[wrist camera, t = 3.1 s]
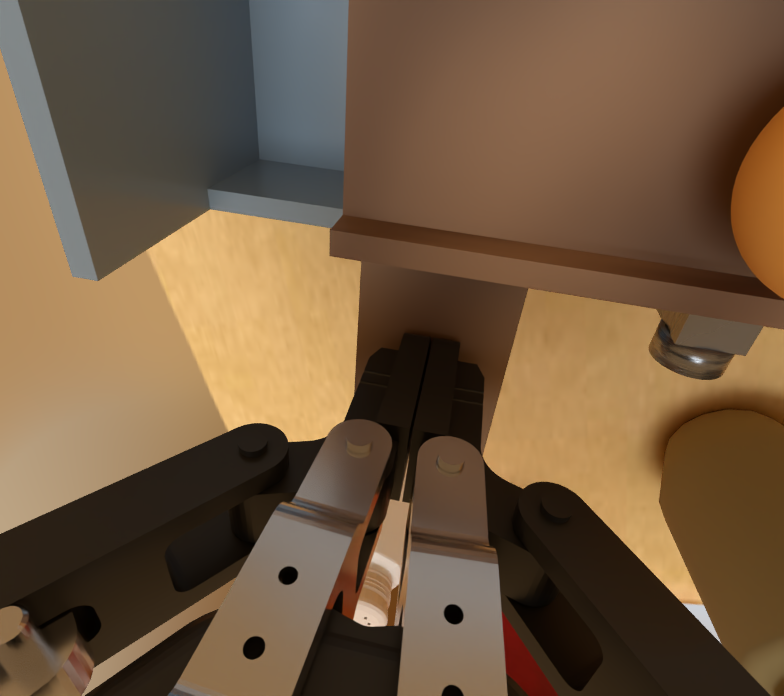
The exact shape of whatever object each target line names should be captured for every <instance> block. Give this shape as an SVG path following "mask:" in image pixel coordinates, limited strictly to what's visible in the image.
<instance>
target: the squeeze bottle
mask: <svg viewBox="0 0 784 696" xmlns="http://www.w3.org/2000/svg"><path fill="white" fill-rule="evenodd" d="M659 503H660V506H661V509H662V512H663V515H664V518H665V521H666V523H667V525H668V527H669V530H670V532H671V534H672V536H673V538H674V540H675V543H676V545H677V547H678V549H679V551H680V554H681V556H682V558H683V560H684V562H685V565H686V567H687V569H688V571H689V573H690V576H691V578H692V580H693V582H694V584H695V587H696V589H697V591H698V593H699V595H700V597H701V600H702V602H703V604H704V606H705V608H706V611H707V613H708V615H709V617H710V619H711V621H712V624H713V626H714V628H715V630H716V632H717V635H718V637H719V639H720V641H721V644H722V645H723V646H724V647H725V648H726V649H727V651H728V652H729V653H730V654H731V655H732V656H733V657H734V658H735V659H736V660H737V661H738V662H739V663H740V664H741V665H742V666H743V667H744V668H745V669H746V670H747V671H748V672H749V673H750V674H751V675H752V676H753V678H754V679H755V680H756V681H757V682H758V683H759V684H760V685H761V686H762V687H763V688H764V689H765V690H766V691H767V692H768V693H769V694H770V695H771V696H784V426H783V425H782V424H780V423H778V422H777V421H775V420H774V419H772V418H770V417H767V416H765V415H762V414H759V413H757V412H754V411H749V410H731V409H726V410H722V411H717V412H712V413H707V414H703V415H701V416H699V417H697V418H695V419H693V420H691V421H689V422H687V423H685V424H683V425H682V426H681V427H680V428H679V429H678V430H677V431H676V432H675V433H674V434H673V435H672V436H671V437H670V438H669V442H668V445H667V448H666V451H665V457H664V465H663V473H662V481H661V489H660V497H659Z"/></svg>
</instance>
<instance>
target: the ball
mask: <svg viewBox="0 0 784 696" xmlns="http://www.w3.org/2000/svg"><path fill="white" fill-rule="evenodd" d="M731 225H732V230H733V235H734V238H735V241H736V244H737V247H738V249H739V251H740V254H741V256H742V258H743V259H744V261H745V262H746V264H747V265H748V267H749V268H750V270H751V271H752V272H753V274H754V275H755V276H756V277H757V278H758V279H759V280H760V281H761V282H762V283H763V284H764V285H765V286H767V287H768V288H769V289H770V290H772V291H773V292H774V293H776V294H777V295H778V296H780V297H781V298H783V299H784V107H783V108H782V109H781V110H780V111H779V112H778V113H777V114H776V115H775V116H774V117H773V118H772V119H771V120H770V122H769V123H768V124H767V125H766V126H765V127H764V129H763V130H762V131H761V132H760V134H759V135H758V137H757V138H756V140H755V141H754V142H753V144H752V145H751V147H750V149H749V151H748V152H747V154H746V156H745V158H744V160H743V162H742V164H741V166H740V169H739V171H738V174H737V176H736V180H735V184H734V188H733V192H732V201H731Z"/></svg>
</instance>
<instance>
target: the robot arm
mask: <svg viewBox="0 0 784 696" xmlns="http://www.w3.org/2000/svg"><path fill="white" fill-rule="evenodd" d="M430 343H431V337H427V336H422V335H416V334H410V333H404V334H403V338H402V341H401V344H400V347H399V350H394V349H388V348H382V347H381V348H380V349H379V350H378V351H376V352H375V353H374V354H373V355H371V356H370V357H369V359H368V362H367V364H366V367H365V369H364V372H363V374H362V377H361V379H360V383H359V385H358V387H357V390H356V392H355V395H354V397H353V400H352V402H351V405H350V407H349V410H348V412H347V415H346V417H345V420H344V422H342V423H340V424H338V425H336V426H335V427H334V428H333V429H332V430H331V431H330V433H329V434H328V436H327V437H325V438H322V439H318V440H314V441H302V442H288V440H287V438H286V436H285V434H284V433H283V432H282V431H281V430H280V429H278V428H276V427H274V426H272V425H268V424H262V423H254V424H247V425H243V426H241V427H238V428H236V429H233V430H231V431H229V432H227V433H224V434H222V435H220V436H218V437H216V438H213V439H212V440H209V441H207V442H205V443H202V444H200V445H198V446H195V447H193V448H191V449H189V450H187V451H184V452H182V453H180V454H178V455H176V456H173V457H171V458H169V459H167V460H164V461H162V462H160V463H158V464H155V465H153V466H151V467H149V468H147V469H144V470H142V471H140V472H138V473H135V474H133V475H131V476H129V477H126V478H125V479H122V480H120V481H118V482H115V483H113V484H111V485H109V486H107V487H104V488H102V489H100V490H98V491H95V492H93V493H91V494H88V495H86V496H84V497H82V498H80V499H78V500H75V501H73V502H71V503H68V504H66V505H64V506H62V507H59V508H57V509H55V510H53V511H51V512H48V513H46V514H44V515H42V516H39V517H37V518H35V519H33V520H31V521H28V522H26V523H24V524H22V525H19V526H17V527H15V528H13V529H11V530H8V531H6V532H4V533H1V534H0V696H82V694H83V693H84V691H85V689H86V688H87V686H88V684H89V682H90V679H91V676H92V673H93V668H94V667H96V666H97V665H99V664H100V663H102V662H104V661H105V660H107V659H108V658H110V657H111V656H113V655H115V654H116V653H118V652H119V651H121V650H122V649H124V648H125V647H127V646H129V645H130V644H132V643H133V642H135V641H137V640H138V639H140V638H141V637H143V636H144V635H146V634H148V633H149V632H151V631H152V630H154V629H155V628H157V627H159V626H160V625H162V624H163V623H165V622H166V621H168V620H169V619H171V618H173V617H174V616H176V615H177V614H179V613H181V612H182V611H184V610H185V609H187V608H188V607H190V606H192V605H193V604H194V603H196V602H198V601H199V600H201V599H203V598H204V597H206V596H207V595H209V594H210V593H212V592H214V591H215V590H217V589H218V588H220V587H221V586H223V585H225V584H226V583H228V582H229V581H231V580H232V579H234V578H236V577H237V578H236V579H235V581H234V583H233V585H232V587H231V588H230V590H229V592H228V594H227V596H226V597H225V599H224V601H223V603H222V604H221V606H220V608H219V609H217V610H215V611H212V612H210V613H208V614H205V615H203V616H201V617H199V618H198V619H196V620H194V621H192V622H190V623H189V624H187V625H186V626H184V627H183V628H181V629H180V630H178V631H177V632H175V633H174V634H173V635H171V636H170V637H168V638H167V639H165V640H164V641H162V642H161V643H160V644H158V645H157V646H155V647H154V648H152V649H151V650H150V651H148V652H147V653H145V654H144V655H142V656H141V657H139V658H138V659H137V660H135V661H134V662H132V663H131V664H129V665H128V666H127V667H125V668H124V669H122V670H121V671H119V672H118V673H116V674H115V675H114V676H112V677H111V678H109V679H108V680H107V681H105V682H104V683H102V684H101V685H99V686H98V687H96V688H95V689H93V690H92V691H91V692H89V693H88V694H86V695H85V696H528V694H527V693H526V692H525V691H524V690H523V689H522V688H521V687H520V686H519V685H518V684H517V682H516V681H514V680H513V679H512V678H511V677H510V676H509V675H508V674H507V673H506V666H505V652H504V638H503V624H502V612H503V613H504V615H505V616H506V618H507V619H508V621H509V622H510V624H511V625H512V627H513V628H514V630H515V631H516V633H517V634H518V636H519V637H520V639H521V640H522V642H523V643H524V645H525V646H526V648H527V649H528V651H529V652H530V654H531V655H532V657H533V658H534V660H535V661H536V663H537V664H538V666H539V667H540V669H541V670H542V672H543V673H544V675H545V676H546V678H547V679H548V681H549V682H550V684H551V685H552V687H553V688H554V690H555V691H556V693H557V694H558V696H771V695H770V694H769V693H768V692H767V691H766V690H765V689H764V688H763V687H762V686H761V685H760V684H759V683H758V682H757V681H756V680H755V679H754V678H753V676H752V675H751V674H750V673H749V672H748V671H747V670H746V669H745V668H744V667H743V666H742V665H741V664H740V663H739V662H738V661H737V660H736V659H735V658H734V657H733V656H732V655H731V654H730V653H729V652H728V651H727V649H726V648H725V647H724V646H723V645H722V644H721V643H720V642H719V641H718V640H717V639H716V638H715V637H714V636H713V635H712V634H711V633H710V632H709V631H708V630H707V629H706V628H705V627H704V626H703V625H702V624H701V623H700V621H699V620H698V619H697V618H695V616H694V615H693V614H692V613H691V612H690V611H689V610H688V609H687V608H686V607H685V606H684V605H683V604H682V603H681V602H680V601H679V600H678V599H677V598H676V597H675V596H674V594H673V593H672V592H671V591H670V590H669V589H668V588H667V587H666V586H665V585H664V584H663V583H662V582H661V581H660V580H659V579H658V578H657V577H656V576H655V575H654V574H653V573H652V572H651V571H650V570H649V569H648V568H647V566H646V565H645V564H644V563H643V562H642V561H641V560H640V559H639V558H638V557H637V556H636V555H635V554H634V553H633V552H632V551H631V550H630V549H629V548H628V547H627V546H626V545H625V544H624V543H623V542H622V541H621V539H620V538H619V537H618V536H617V535H616V534H615V533H614V532H613V531H612V530H611V529H610V528H609V527H608V526H607V525H606V524H605V523H604V522H603V521H602V520H601V519H600V518H599V517H598V516H597V515H596V514H595V513H594V511H593V510H592V509H591V508H590V507H589V506H588V505H587V504H586V503H585V502H584V501H583V500H582V499H581V498H580V497H579V496H578V495H577V494H575V493H574V492H572V491H571V490H569V489H568V488H566V487H563V486H561V485H558V484H555V483H550V482H536V483H533V484H530V485H528V486H527V487H525V488H524V489H522V488H520V487H518V486H516V485H514V484H512V483H509V482H507V481H506V480H504V479H502V478H500V477H499V476H498V475H496V474H495V473H494V472H493V471H492V470H491V469H490V468H489V467H488V466H487V464H486V463H485V461H484V459H483V457H482V453H481V436H482V417H483V398H484V379H485V378H484V376H483V374H482V372H481V371H480V369H479V367H478V365H477V364H472V363H467V362H461V361H458V357H459V349H460V342H457V341H451V340H445V339H439V338H433V341H432V346H431V351H430V355H429V349H430ZM428 355H429V360H428ZM427 362H428V364H427ZM426 368H427V369H426ZM408 459H409V460H408ZM407 463H408V467H407ZM406 468H407V473H406ZM405 473H406V480H405V486H404V493H403V500H402V502H406V503H409V509H408V516H407V522H406V528H405V534H404V542H403V552H402V562H401V571H400V581H399V591H398V600H397V609H396V618H395V625H394V626H375V627H370V626H364V625H361V624H359V623H357V622H356V621H354V620H353V619H354V614H355V610H356V606H357V603H358V599H359V596H360V593H361V590H362V587H363V584H364V581H365V578H366V575H367V572H368V569H369V566H370V563H371V560H372V557H373V554H374V551H375V548H376V545H377V542H378V539H379V536H380V533H381V530H382V525H383V521H384V520H385V517H386V514H387V510H388V506H389V502H390V499H391V500H396V501H399V500H400V496H401V491H402V486H403V482H404V477H405Z"/></svg>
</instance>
